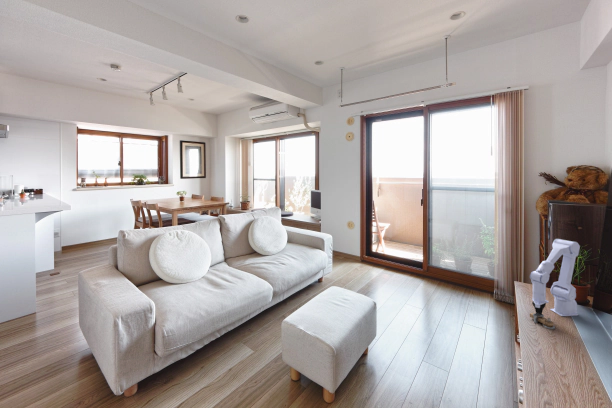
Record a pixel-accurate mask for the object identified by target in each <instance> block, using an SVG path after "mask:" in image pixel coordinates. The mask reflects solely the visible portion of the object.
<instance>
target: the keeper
mask: <svg viewBox="0 0 612 408" xmlns="http://www.w3.org/2000/svg"><path fill="white" fill-rule="evenodd" d="M533 313H534V314H533V316H534V319H533V322H534V323H535V324H538V322H539V321H538V317H544V318H545V315H544V314H543V313H542V314H541V313H536V312H533Z"/></svg>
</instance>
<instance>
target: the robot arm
mask: <svg viewBox="0 0 612 408" xmlns="http://www.w3.org/2000/svg"><path fill="white" fill-rule="evenodd" d="M551 247H552V249H551V251H550V252H549V255H548V257H547V258H546V260H542V262H541V263H539V265H538V266H537V268H536V269H535V270H533V271H531V272H530V274H529V279H530V280H531V281H530V282H531V283H532V298H531V300H532V303H531V304H532V306H533V307H534V311H535V313H541V314H543V312H544V311H543V310H544V308H545V307H546V304H549V300H547V297H546V296H547V283H548V282H549V280H550V277H551V276H550V274H551V273H552V271H553V270H554V269H555V263H556V262H557V261H558V260H559V258H561V257H562V256H563V257H562V261H561V267H560V271H559V276H558V281H554V282H553V283H552V285H551V287H550V293H551V295H552V297H553V298H554V306H553V307H554V308H550V309H549V310H550V311H552V312H554V313H555V314H557V315H558V316H560V317H573V316H579V314H578V303H577V300H575V299H576V298H577V293H576V292H577V289H576V288H575V287H574V286H573V285H572V284H571V282H572V279H573V273H574V269H575V265H576V264H575V263H576V258H577V257H578V256H579V255H580V254H579V253H580V247H581V246H580V244H579V243H578V242H577V241H571V240H566V239H561V238H555V239H554V240H553V242H552V244H551Z"/></svg>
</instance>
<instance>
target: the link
mask: <svg viewBox="0 0 612 408" xmlns="http://www.w3.org/2000/svg"><path fill="white" fill-rule="evenodd" d="M534 313H535V312H531V313H529V318H531V319H533V320H534V316H533V314H534ZM538 322H539V323H541V324H542V325H543V324H544V325H546V326H548V327H553V326H555V325H554V323H555V322H554V321H552V319H551V317H547V318H546V317H545V316H544V317H538Z"/></svg>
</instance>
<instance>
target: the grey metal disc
mask: <svg viewBox="0 0 612 408" xmlns="http://www.w3.org/2000/svg"><path fill="white" fill-rule="evenodd" d="M542 327H544V328H546V329H548V330H553V331H554V330H556V327H555V325H554V326H553V327H548V326H546V325H544V324H543V323H542Z"/></svg>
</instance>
